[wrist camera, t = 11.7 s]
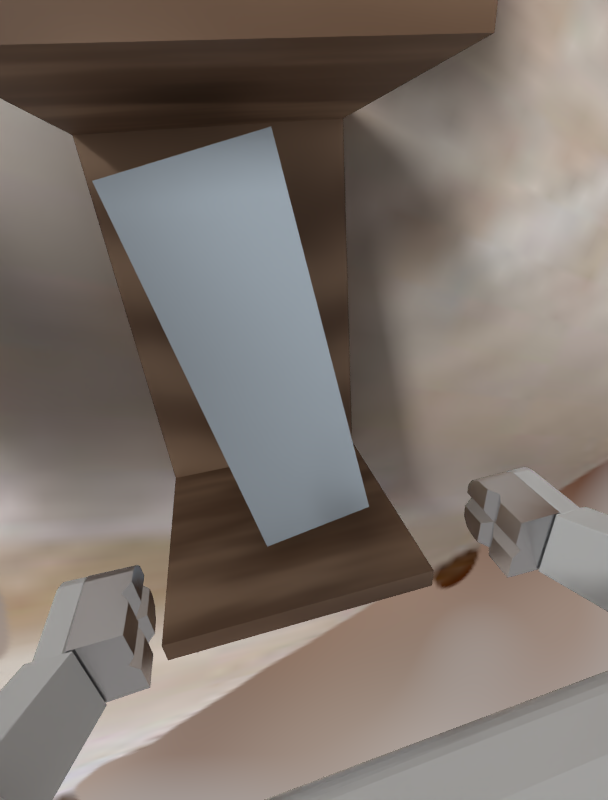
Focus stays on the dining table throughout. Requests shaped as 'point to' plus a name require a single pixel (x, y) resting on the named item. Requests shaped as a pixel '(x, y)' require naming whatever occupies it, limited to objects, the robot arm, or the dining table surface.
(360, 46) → the shelf rack
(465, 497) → the dining table surface
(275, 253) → the shelf board
